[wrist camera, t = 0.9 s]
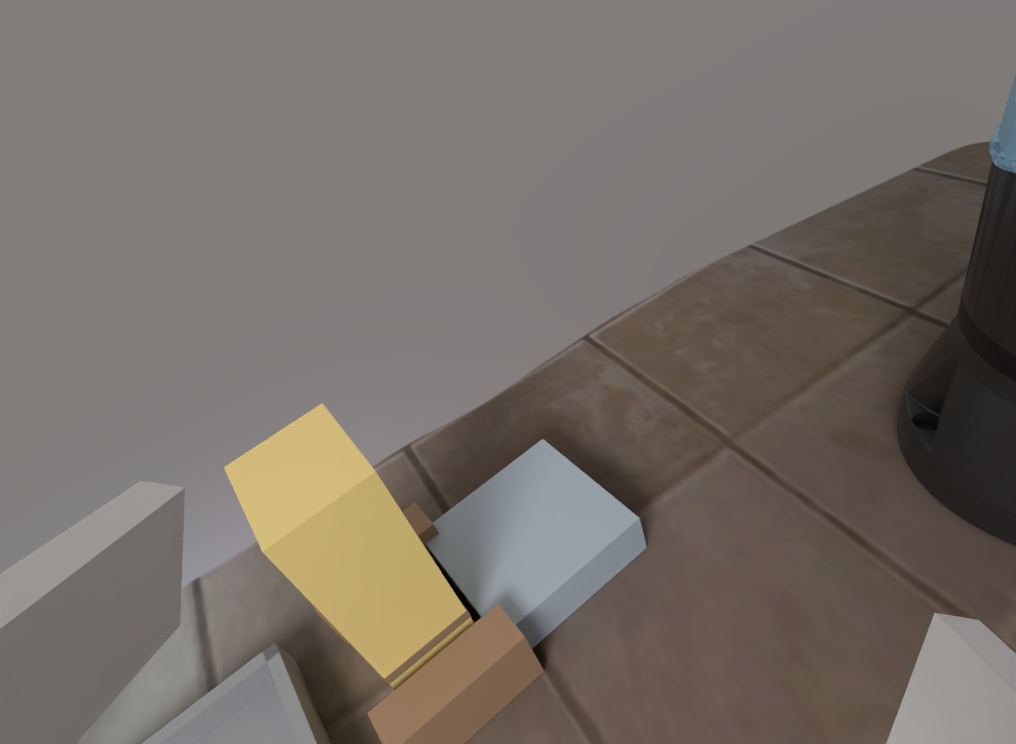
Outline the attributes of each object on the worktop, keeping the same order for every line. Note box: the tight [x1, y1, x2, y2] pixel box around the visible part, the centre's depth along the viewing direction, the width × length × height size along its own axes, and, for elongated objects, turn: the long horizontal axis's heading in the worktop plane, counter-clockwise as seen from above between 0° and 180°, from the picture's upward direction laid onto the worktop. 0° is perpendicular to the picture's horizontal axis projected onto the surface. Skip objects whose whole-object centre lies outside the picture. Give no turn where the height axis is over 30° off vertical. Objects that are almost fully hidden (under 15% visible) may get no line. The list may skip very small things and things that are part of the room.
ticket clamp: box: [313, 439, 647, 744], centre depth 37 cm, size 17×12×4 cm
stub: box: [224, 404, 474, 690], centre depth 31 cm, size 5×6×16 cm
